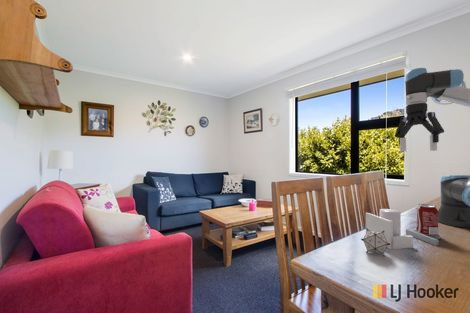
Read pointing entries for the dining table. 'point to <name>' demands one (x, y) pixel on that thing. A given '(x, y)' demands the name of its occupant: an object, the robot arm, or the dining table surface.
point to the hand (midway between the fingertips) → (417, 151)
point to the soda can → (427, 219)
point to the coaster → (431, 236)
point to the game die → (375, 242)
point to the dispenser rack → (394, 229)
